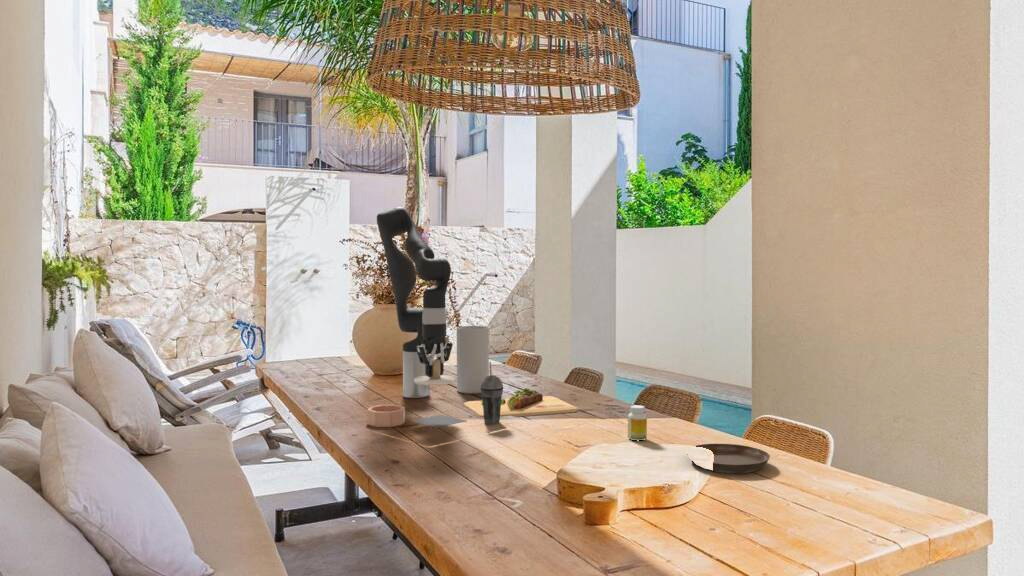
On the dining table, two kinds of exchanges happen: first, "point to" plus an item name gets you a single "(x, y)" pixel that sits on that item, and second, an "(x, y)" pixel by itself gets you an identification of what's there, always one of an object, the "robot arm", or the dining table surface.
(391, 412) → the bowl
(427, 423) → the mat
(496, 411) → the beverage cup
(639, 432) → the supplement bottle
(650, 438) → the dining table surface
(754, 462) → the plant saucer
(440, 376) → the lid
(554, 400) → the cutting board
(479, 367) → the cylinder vase
